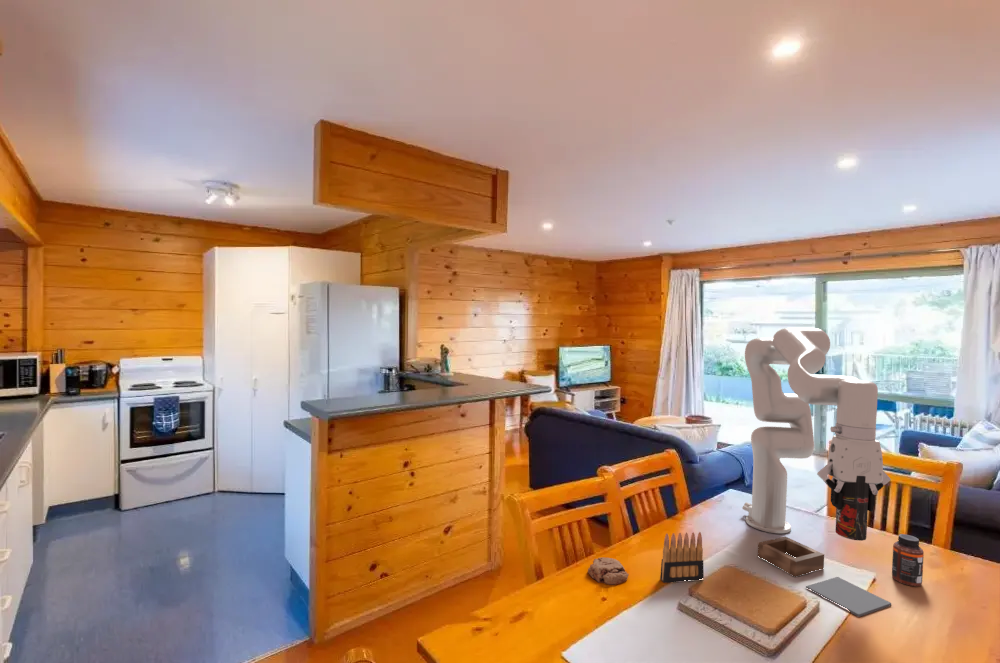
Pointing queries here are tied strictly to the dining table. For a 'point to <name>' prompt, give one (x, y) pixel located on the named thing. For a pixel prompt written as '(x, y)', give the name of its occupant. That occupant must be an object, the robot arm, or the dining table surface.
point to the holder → (797, 566)
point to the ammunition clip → (682, 559)
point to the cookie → (608, 571)
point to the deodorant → (853, 510)
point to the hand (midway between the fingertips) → (851, 507)
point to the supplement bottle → (907, 561)
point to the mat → (849, 596)
